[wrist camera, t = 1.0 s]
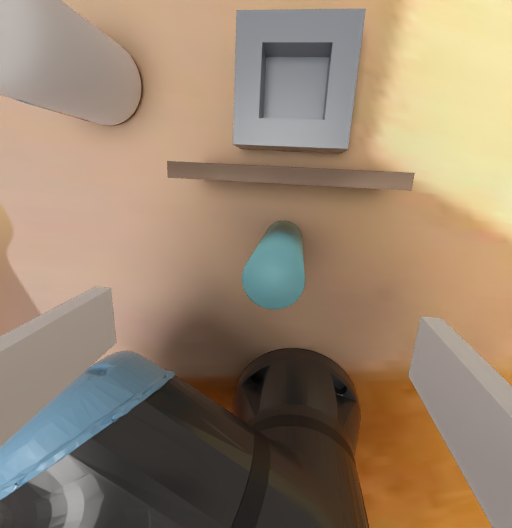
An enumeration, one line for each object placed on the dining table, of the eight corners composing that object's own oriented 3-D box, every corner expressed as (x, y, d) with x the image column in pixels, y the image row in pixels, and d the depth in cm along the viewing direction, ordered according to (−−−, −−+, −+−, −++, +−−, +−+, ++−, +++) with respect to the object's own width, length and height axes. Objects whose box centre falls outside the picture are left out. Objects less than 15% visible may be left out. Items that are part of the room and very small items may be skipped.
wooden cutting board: (378, 187, 30) (411, 190, 21) (202, 178, 32) (167, 177, 23) (380, 175, 29) (414, 172, 21) (203, 166, 31) (167, 161, 23)
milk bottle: (130, 31, 29) (-192, -255, 10) (153, 116, 31) (-83, 13, 12) (62, 54, 30) (-334, -158, 11) (88, 134, 32) (-217, 68, 13)
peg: (300, 258, 33) (301, 312, 19) (264, 255, 33) (240, 306, 20) (303, 222, 32) (307, 252, 18) (266, 219, 32) (243, 247, 19)
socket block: (341, 152, 29) (347, 148, 26) (241, 148, 30) (233, 144, 27) (356, 33, 27) (365, 8, 23) (244, 33, 28) (236, 10, 24)
